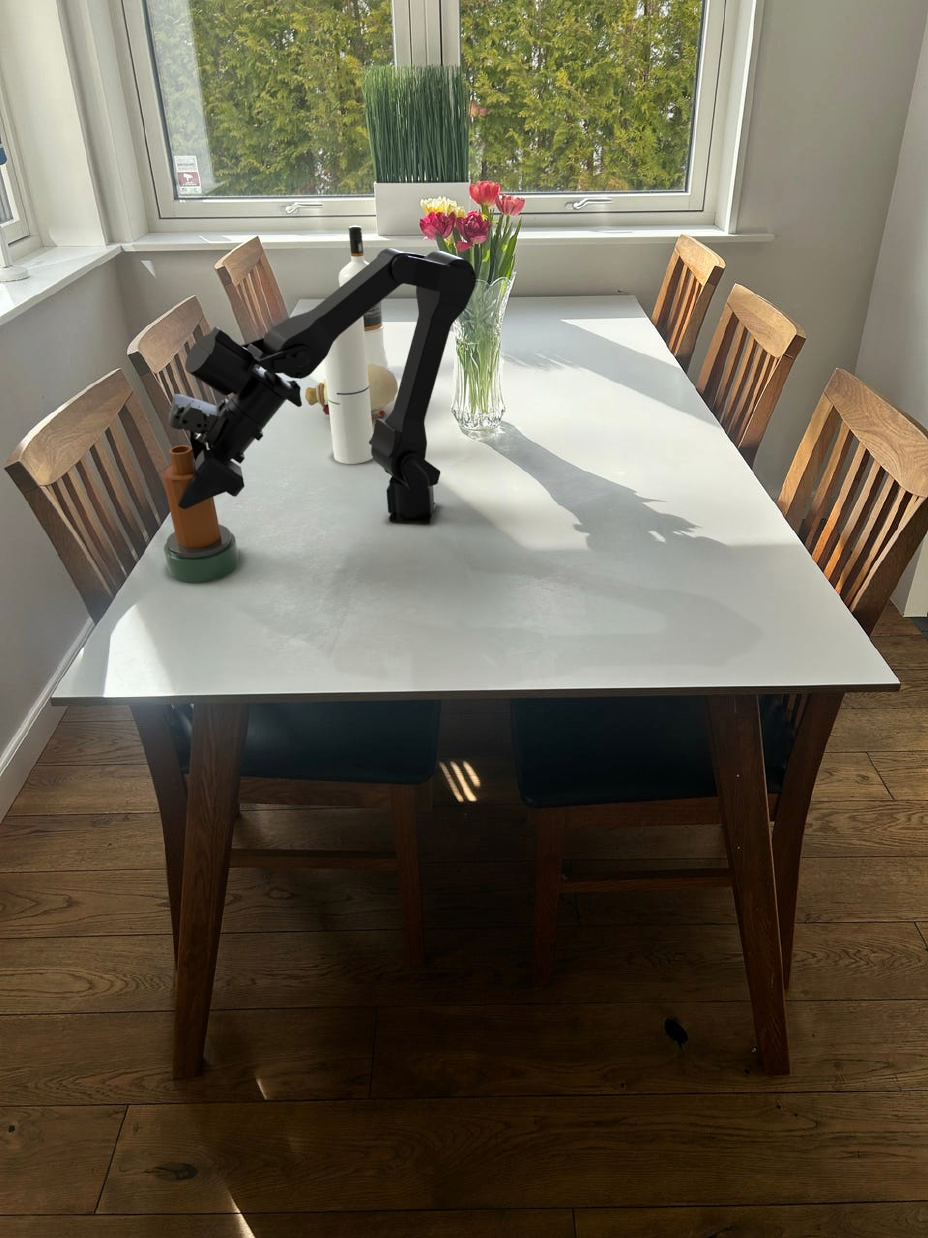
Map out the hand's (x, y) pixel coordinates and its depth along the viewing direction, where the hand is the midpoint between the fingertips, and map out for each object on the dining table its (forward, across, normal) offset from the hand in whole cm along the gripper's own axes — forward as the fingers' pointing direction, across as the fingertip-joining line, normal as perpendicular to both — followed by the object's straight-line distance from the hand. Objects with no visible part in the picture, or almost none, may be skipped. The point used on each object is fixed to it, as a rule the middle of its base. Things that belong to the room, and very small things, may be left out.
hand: (180, 497), depth 130 cm
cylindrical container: (-13, -31, +29) cm, 44 cm away
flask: (-15, -50, +31) cm, 61 cm away
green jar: (+7, 0, +9) cm, 11 cm away
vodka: (-20, -73, +36) cm, 84 cm away
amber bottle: (+4, 0, +6) cm, 7 cm away
